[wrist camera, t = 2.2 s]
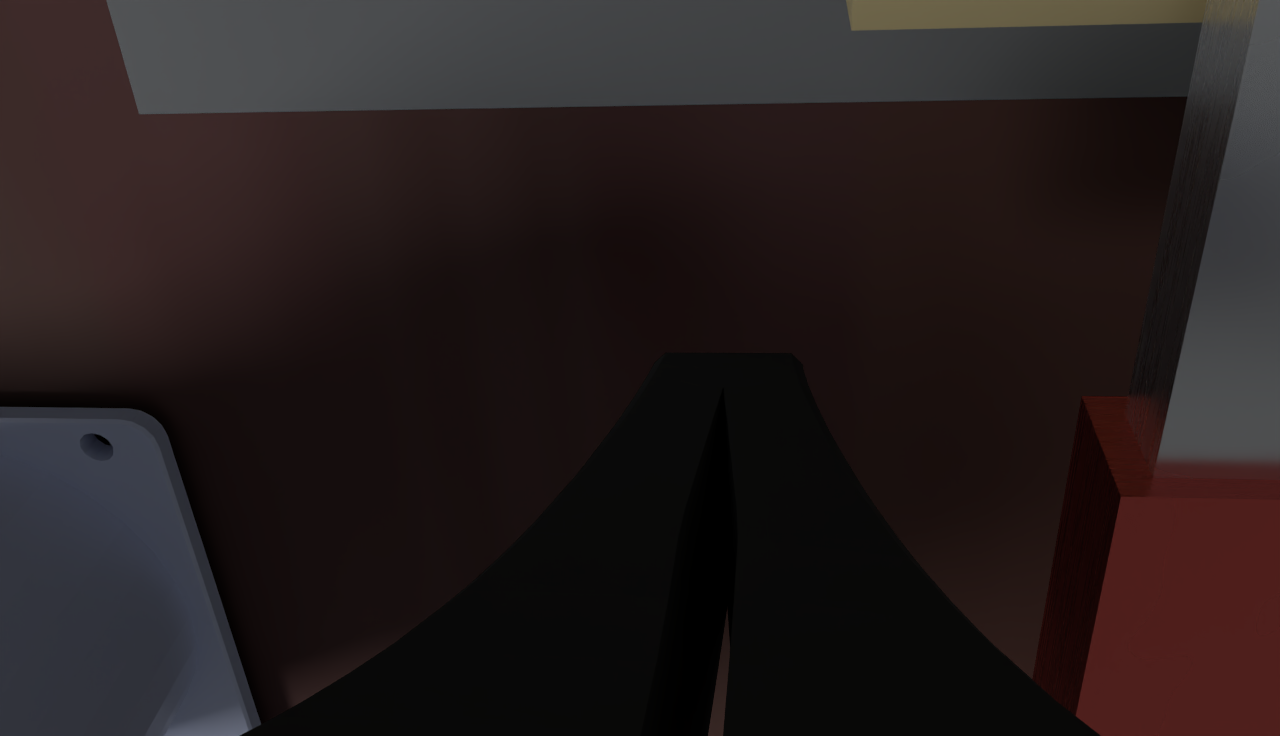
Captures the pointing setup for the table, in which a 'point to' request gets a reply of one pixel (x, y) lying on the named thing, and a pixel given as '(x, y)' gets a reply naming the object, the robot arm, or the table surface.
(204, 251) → the table surface
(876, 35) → the valve on pipe
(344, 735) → the robot arm
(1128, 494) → the valve lever
